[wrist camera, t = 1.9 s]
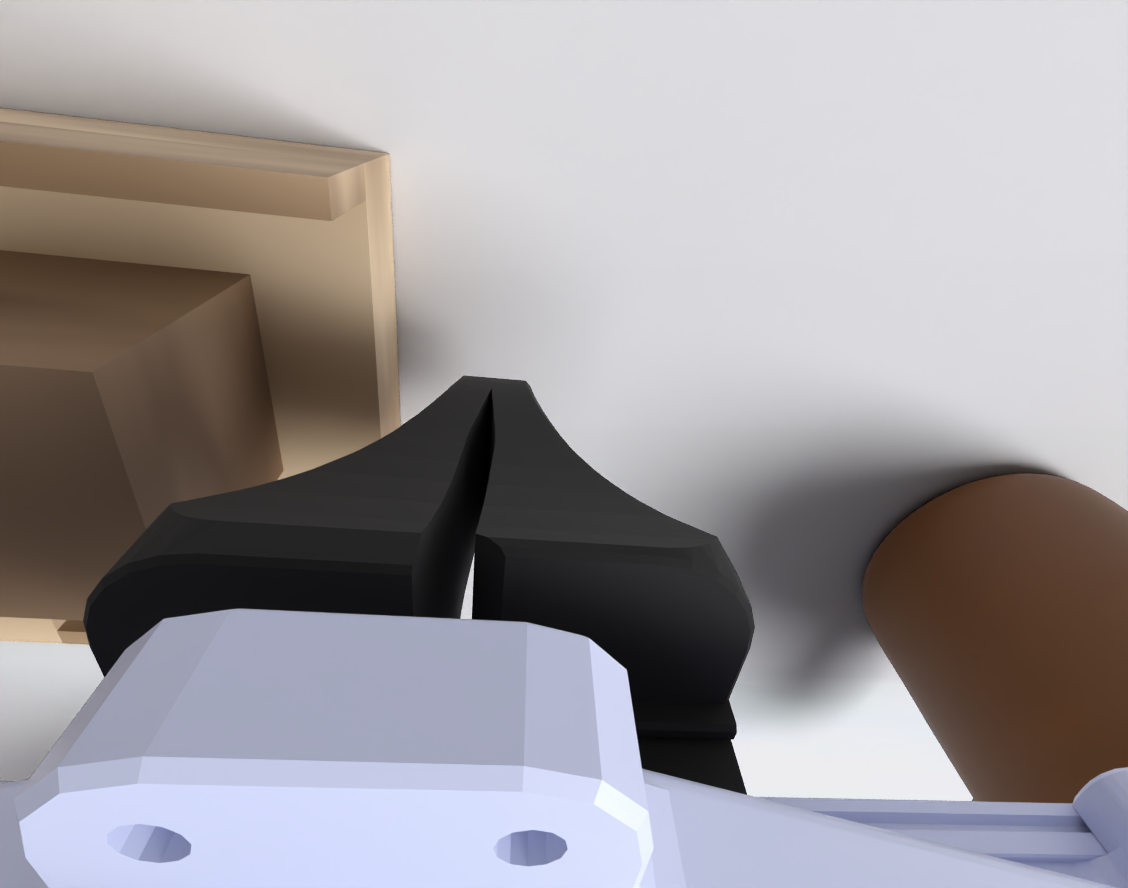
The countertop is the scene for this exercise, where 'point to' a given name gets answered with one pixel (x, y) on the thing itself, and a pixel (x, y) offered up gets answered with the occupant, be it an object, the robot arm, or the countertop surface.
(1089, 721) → the mug
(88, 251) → the platform
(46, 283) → the walnut block
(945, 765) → the countertop surface
